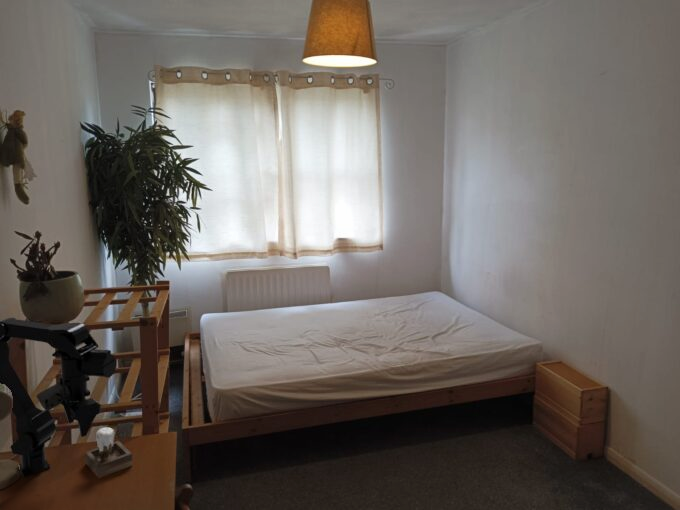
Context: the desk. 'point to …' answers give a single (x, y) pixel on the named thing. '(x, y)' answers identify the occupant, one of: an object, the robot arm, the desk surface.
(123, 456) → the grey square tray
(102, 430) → the milkshake
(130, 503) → the desk surface
